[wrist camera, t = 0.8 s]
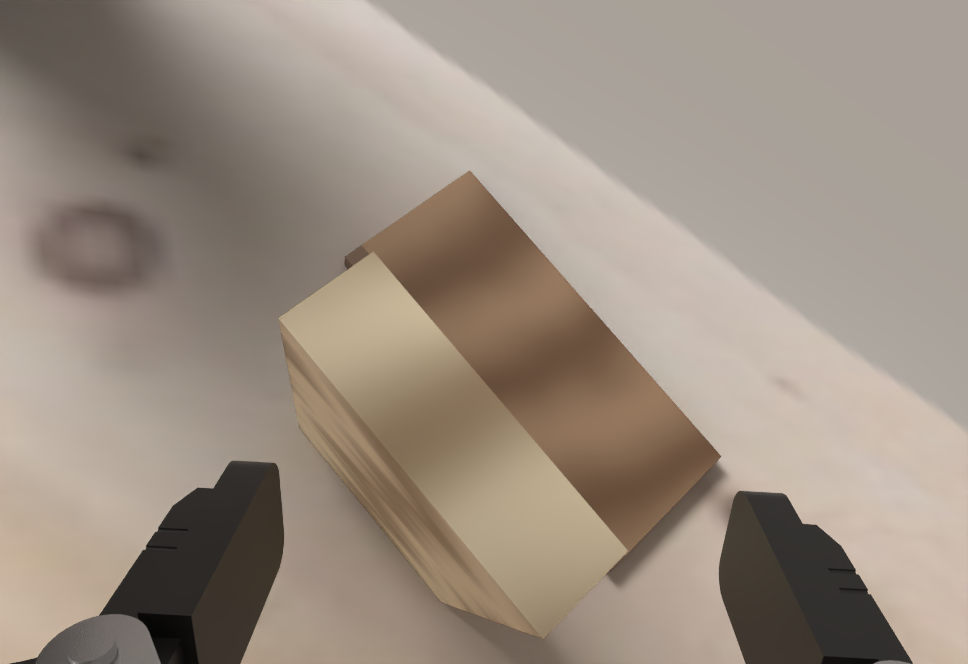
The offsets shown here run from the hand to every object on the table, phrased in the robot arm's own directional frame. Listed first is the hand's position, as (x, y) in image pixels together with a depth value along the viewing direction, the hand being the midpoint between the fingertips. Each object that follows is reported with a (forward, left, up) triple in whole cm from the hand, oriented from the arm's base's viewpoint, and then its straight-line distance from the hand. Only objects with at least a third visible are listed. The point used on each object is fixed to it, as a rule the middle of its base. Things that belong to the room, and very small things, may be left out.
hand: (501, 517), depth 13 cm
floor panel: (-2, +10, -21) cm, 23 cm away
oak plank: (-2, +1, -21) cm, 21 cm away
